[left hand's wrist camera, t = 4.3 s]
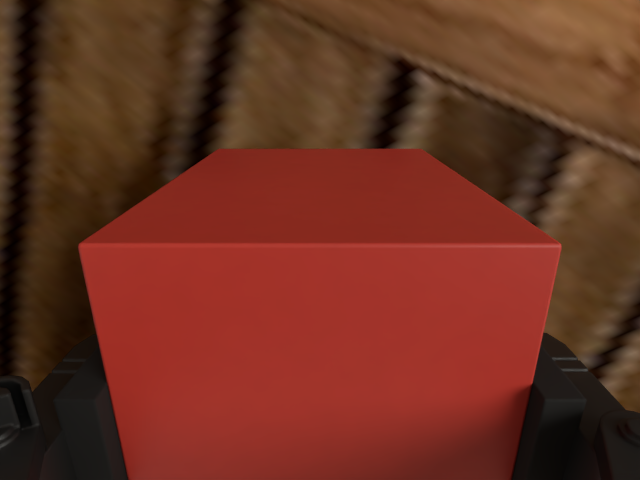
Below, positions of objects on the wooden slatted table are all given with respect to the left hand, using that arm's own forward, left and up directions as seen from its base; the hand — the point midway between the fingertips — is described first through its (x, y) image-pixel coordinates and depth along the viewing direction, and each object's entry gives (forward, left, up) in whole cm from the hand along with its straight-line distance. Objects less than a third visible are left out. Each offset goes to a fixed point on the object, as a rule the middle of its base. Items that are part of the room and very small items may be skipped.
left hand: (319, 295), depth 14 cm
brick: (0, 0, -4) cm, 4 cm away
